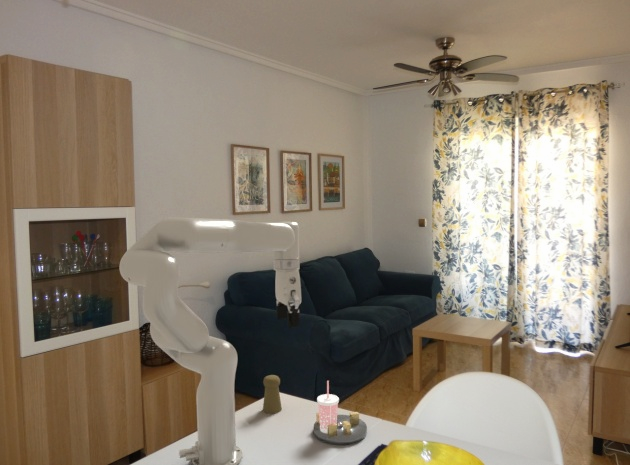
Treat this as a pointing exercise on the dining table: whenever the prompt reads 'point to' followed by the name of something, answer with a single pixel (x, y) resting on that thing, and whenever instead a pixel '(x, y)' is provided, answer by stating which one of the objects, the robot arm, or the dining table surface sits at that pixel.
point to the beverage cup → (327, 410)
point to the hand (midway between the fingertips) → (287, 322)
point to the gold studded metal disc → (342, 430)
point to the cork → (271, 395)
